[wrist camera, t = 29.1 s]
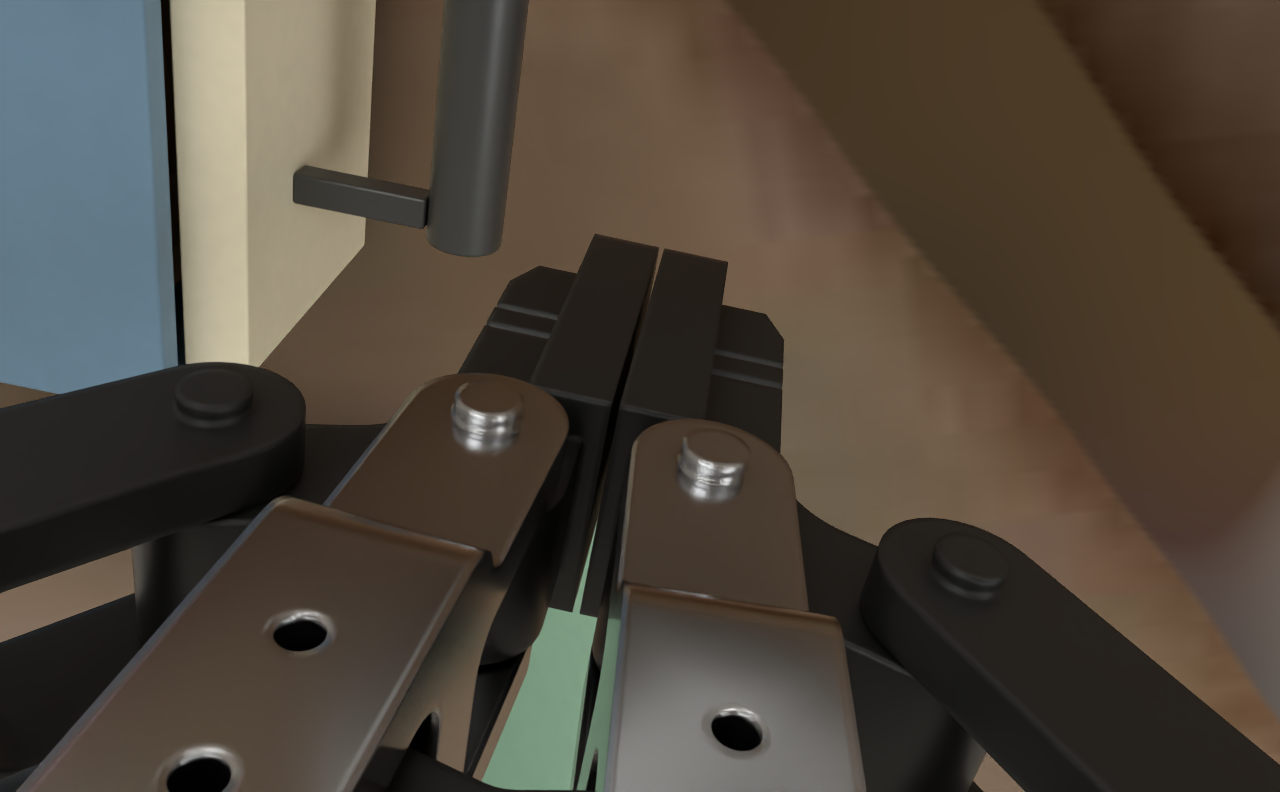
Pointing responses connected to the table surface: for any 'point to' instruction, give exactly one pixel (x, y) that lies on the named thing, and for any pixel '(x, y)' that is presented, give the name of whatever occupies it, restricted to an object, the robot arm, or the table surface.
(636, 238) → the table surface
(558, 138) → the table surface
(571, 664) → the bottle
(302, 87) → the drawer
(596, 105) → the table surface
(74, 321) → the cabinet
